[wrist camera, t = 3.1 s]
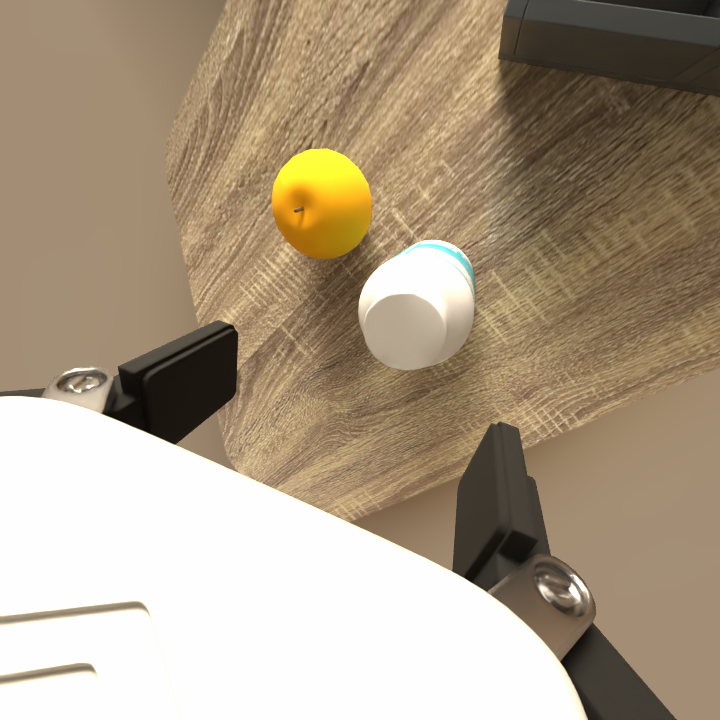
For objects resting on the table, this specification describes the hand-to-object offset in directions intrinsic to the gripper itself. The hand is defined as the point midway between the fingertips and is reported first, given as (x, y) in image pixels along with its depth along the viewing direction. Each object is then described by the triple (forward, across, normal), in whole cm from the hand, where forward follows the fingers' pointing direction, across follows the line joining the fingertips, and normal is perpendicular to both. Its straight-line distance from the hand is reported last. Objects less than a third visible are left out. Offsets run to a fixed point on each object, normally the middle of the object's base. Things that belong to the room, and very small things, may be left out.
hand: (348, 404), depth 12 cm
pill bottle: (+21, 0, 0) cm, 21 cm away
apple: (+22, +10, -4) cm, 24 cm away
